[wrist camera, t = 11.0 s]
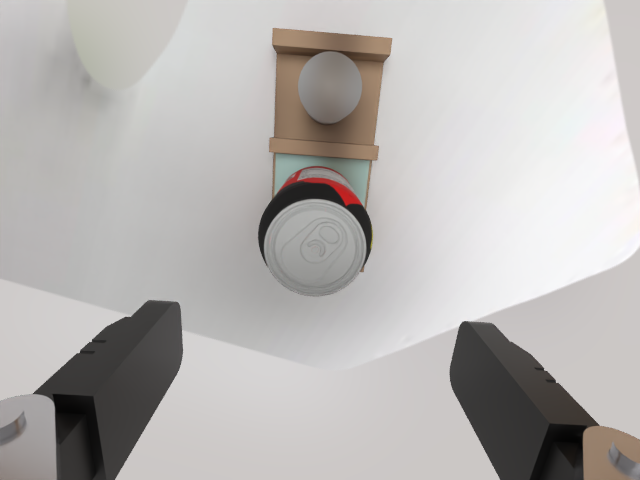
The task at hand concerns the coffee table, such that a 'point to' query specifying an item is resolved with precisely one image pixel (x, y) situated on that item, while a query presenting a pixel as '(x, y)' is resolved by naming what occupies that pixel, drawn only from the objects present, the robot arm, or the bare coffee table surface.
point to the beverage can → (315, 233)
